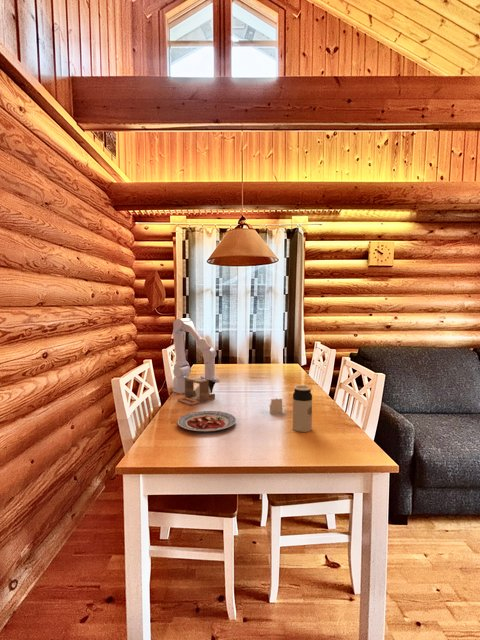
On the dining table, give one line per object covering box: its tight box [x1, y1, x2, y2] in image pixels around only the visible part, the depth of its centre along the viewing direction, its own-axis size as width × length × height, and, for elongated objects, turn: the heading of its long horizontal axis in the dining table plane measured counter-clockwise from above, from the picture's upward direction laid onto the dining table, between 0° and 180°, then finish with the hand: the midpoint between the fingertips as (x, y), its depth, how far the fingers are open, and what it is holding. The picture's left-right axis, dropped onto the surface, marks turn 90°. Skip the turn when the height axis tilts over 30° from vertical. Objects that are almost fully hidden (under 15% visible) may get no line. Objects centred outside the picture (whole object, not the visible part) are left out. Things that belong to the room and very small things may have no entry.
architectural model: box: [269, 397, 285, 415], centre depth 173 cm, size 3×7×7 cm, turn 100°
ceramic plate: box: [177, 410, 237, 432], centre depth 156 cm, size 26×26×3 cm
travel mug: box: [292, 384, 313, 433], centre depth 150 cm, size 8×8×18 cm
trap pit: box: [177, 396, 200, 407], centre depth 190 cm, size 12×5×1 cm, turn 44°
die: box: [194, 384, 212, 400], centre depth 198 cm, size 8×9×10 cm
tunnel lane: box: [184, 376, 216, 404], centre depth 197 cm, size 15×10×11 cm, turn 44°
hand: (209, 393), depth 202 cm, fingers closed
